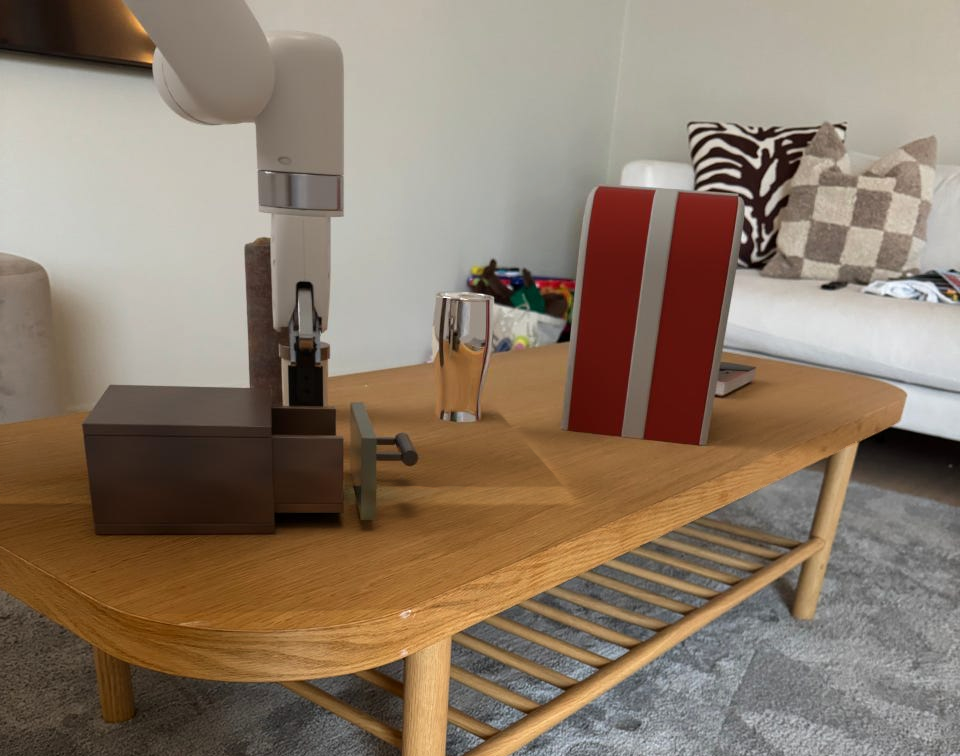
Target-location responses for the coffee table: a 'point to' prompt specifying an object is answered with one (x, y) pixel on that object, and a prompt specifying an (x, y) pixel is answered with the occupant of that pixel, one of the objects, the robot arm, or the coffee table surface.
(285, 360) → the spice jar
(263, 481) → the cabinet
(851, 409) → the coffee table surface
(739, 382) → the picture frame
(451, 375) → the beer glass
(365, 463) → the drawer
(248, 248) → the candle
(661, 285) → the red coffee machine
